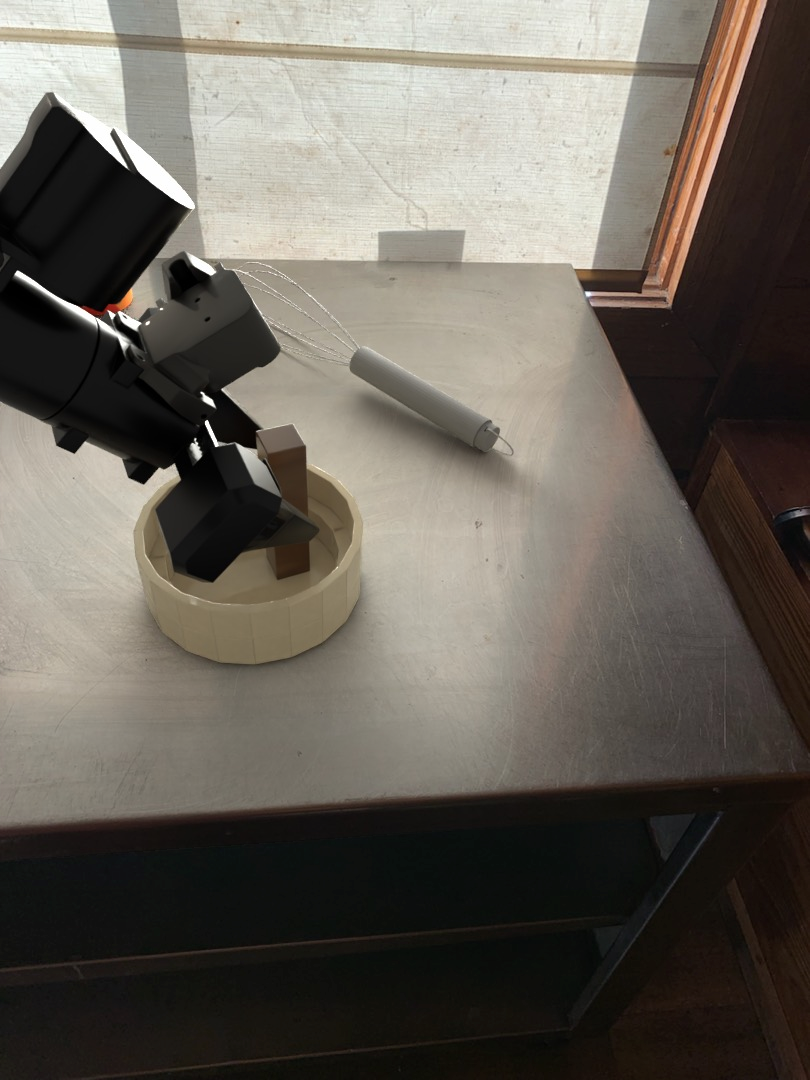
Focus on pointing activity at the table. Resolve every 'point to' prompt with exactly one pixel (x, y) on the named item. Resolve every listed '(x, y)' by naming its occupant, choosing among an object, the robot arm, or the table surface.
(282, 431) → the stir stick
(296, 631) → the bowl
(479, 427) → the kitchen whisk
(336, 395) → the table surface
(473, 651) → the table surface
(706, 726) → the table surface
